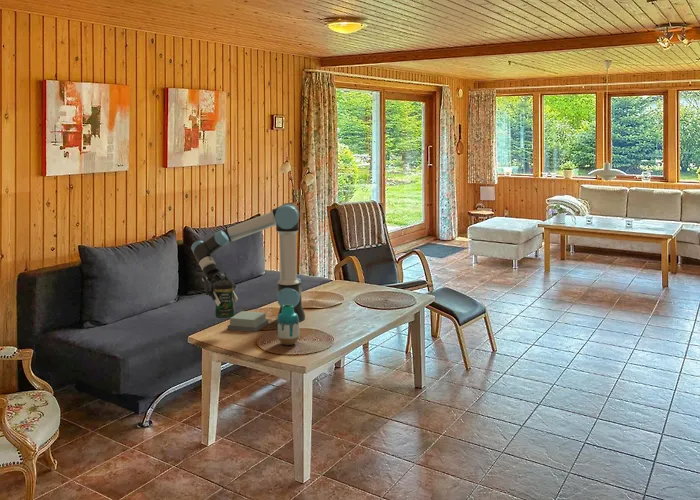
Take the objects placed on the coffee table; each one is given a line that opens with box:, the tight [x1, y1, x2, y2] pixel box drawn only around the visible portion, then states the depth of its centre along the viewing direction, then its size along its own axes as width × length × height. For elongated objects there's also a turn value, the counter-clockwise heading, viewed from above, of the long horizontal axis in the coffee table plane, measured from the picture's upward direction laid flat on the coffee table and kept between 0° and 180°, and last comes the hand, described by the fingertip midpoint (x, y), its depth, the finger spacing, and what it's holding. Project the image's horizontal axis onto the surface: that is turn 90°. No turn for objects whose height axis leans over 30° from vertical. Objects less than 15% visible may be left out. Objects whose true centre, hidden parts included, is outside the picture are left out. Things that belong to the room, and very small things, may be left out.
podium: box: [227, 310, 269, 333], centre depth 341 cm, size 16×16×6 cm
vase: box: [276, 304, 300, 346], centre depth 310 cm, size 11×11×19 cm
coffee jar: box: [213, 279, 236, 319], centre depth 323 cm, size 10×8×19 cm
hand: (227, 302), depth 321 cm, fingers closed on coffee jar, 9 cm apart
